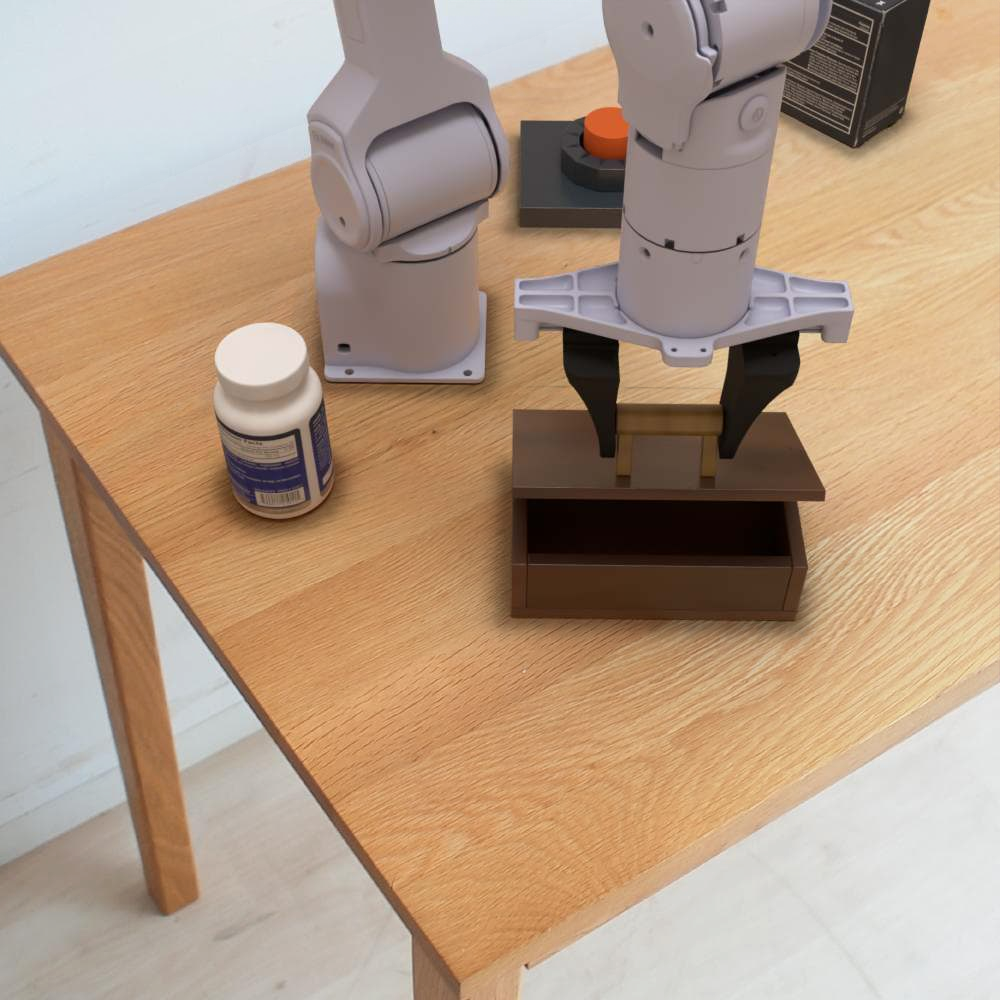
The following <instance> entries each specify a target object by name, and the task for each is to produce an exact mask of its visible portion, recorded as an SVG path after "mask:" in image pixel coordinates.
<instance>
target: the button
mask: <svg viewBox="0 0 1000 1000" xmlns="http://www.w3.org/2000/svg"><path fill="white" fill-rule="evenodd" d="M585 116H586V118H585V122H584V141H583V145H584V148H585V150H586V151H587V152H588V153H589V154H590V155H593V156H596V157H599V158H602V159H623V158H626V156H627V142H628V128H629V123H627V122H626V121H625V120H624V119H623V117H622V108H621V107H617V106H606V107H600V108H595V109H594V110H592V111H590V112H589V113H588V114H587V115H585Z"/></svg>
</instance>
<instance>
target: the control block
mask: <svg viewBox="0 0 1000 1000" xmlns="http://www.w3.org/2000/svg"><path fill="white" fill-rule="evenodd" d="M586 116H587V115H585V116H581V117H578V118H576V119H574V120H543V119H542V120H541V119H538V120H537V119H536V120H535V119H534V120H532V119H531V120H529V119H528V120H527V119H526V120H525V119H521V120H520V122H519V125H520V127H519V136H520V137H519V224H518V225H519V228H527V229H528V228H533V229H535V228H537V229H538V228H539V229H541V228H542V229H543V228H545V229H546V228H547V229H621V222H622V209H623V197H624V183H625V169H626V158H623V159H602V158H599V157H596V156H593V155H590V154H589V153H588V152H587V151H586V150H585V148H584V145H583V141H584V122H585V118H586Z"/></svg>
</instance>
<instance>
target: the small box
mask: <svg viewBox="0 0 1000 1000" xmlns="http://www.w3.org/2000/svg"><path fill="white" fill-rule="evenodd" d="M931 1H932V0H833V2H832V10H831V14H830V18H829V21H828V24H827V27H826V29H825V31H824V33H823V35H822V36H821V38H820V39H819V40H818V41H817V42H816V43H815V44H814V45H813V46H812V47H811V48H809V49H808V50H806V51H804V52H801V53H800V54H799V55H797V56H796V57H794V58H792V59H790V60H788V61H786V62H784V63H781V65H783V66H785V67H787V72H786V78H785V84H784V91H783V97H782V103H781V109H780V112H782V113H784V114H786V115H788V116H790V117H791V118H794V119H796V120H797V121H800V122H802V123H804V124H806V125H808V126H809V127H812V128H814V129H815V130H818V131H820V132H821V133H824V134H826V135H828V136H830V137H832V138H833V139H835V140H837V141H839V142H841V143H842V144H845V145H847V146H849V147H851V148H857V147H858V146H860V145H862V144H863V143H865V141H867V140H869V139H870V138H872V137H873V136H874V135H876V134H877V133H879V132H881V131H882V130H884V129H885V128H886V127H888V126H890V125H892V124H894V123H895V122H896V121H897V120H899V119H900V118H902V117H903V116H904V114H905V108H906V104H907V100H908V96H909V91H910V87H911V83H912V79H913V75H914V71H915V67H916V64H917V58H918V54H919V50H920V46H921V42H922V38H923V35H924V31H925V26H926V22H927V18H928V15H929V10H930V6H931Z"/></svg>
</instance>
